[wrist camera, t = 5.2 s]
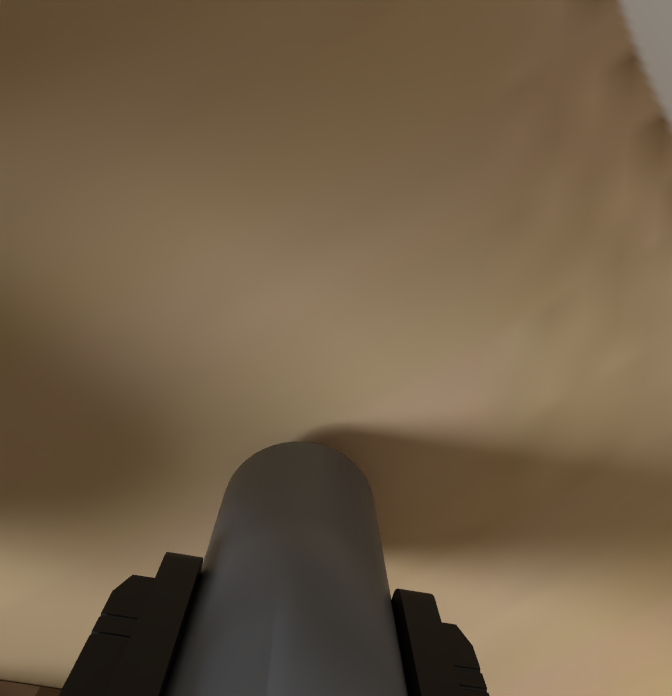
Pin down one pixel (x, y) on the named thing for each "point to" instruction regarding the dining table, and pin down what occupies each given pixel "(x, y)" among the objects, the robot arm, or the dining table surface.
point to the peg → (292, 586)
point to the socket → (26, 690)
